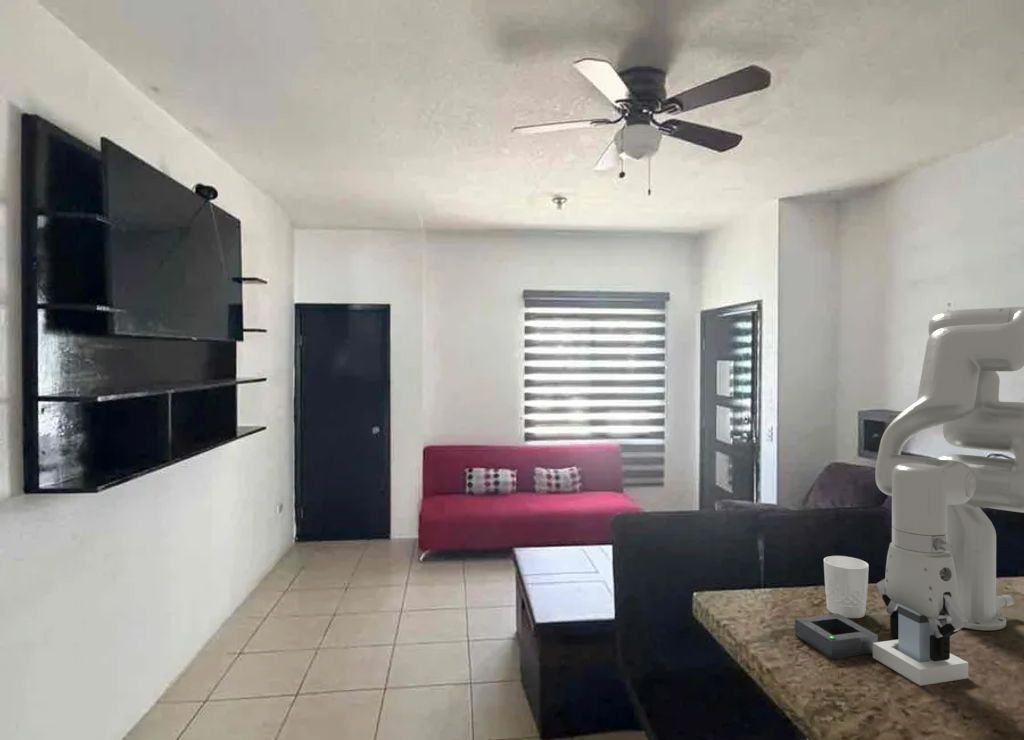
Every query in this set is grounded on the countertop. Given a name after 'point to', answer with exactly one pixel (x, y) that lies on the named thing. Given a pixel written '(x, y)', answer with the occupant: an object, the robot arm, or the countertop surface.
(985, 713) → the countertop surface
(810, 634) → the port
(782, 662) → the countertop surface
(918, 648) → the plug
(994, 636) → the countertop surface
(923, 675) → the holster
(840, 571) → the white cup
